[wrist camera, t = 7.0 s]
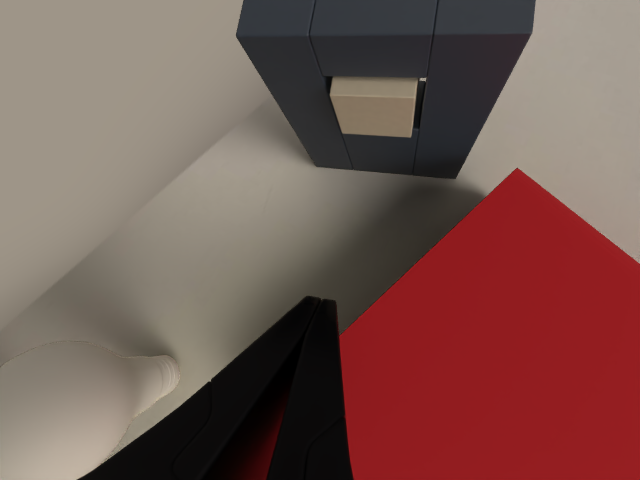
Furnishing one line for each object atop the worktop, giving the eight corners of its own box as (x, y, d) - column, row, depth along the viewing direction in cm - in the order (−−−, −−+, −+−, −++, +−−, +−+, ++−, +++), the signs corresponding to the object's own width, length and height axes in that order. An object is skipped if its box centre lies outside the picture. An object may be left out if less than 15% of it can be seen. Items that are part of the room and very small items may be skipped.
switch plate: (455, 179, 21) (532, 32, 9) (316, 167, 23) (234, 36, 11) (460, 141, 21) (541, -48, 9) (322, 132, 23) (248, -30, 12)
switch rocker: (410, 138, 15) (415, 97, 12) (341, 133, 16) (328, 95, 13) (419, 80, 15) (425, 27, 12) (351, 79, 16) (340, 28, 13)
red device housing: (492, 194, 20) (522, 162, 15) (724, 387, 16) (863, 427, 11) (280, 394, 21) (246, 423, 16) (455, 622, 17) (478, 750, 12)
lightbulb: (169, 307, 24) (-16, 318, 13) (229, 367, 22) (73, 436, 11) (116, 376, 24) (-111, 443, 13) (172, 440, 22) (-35, 578, 11)
